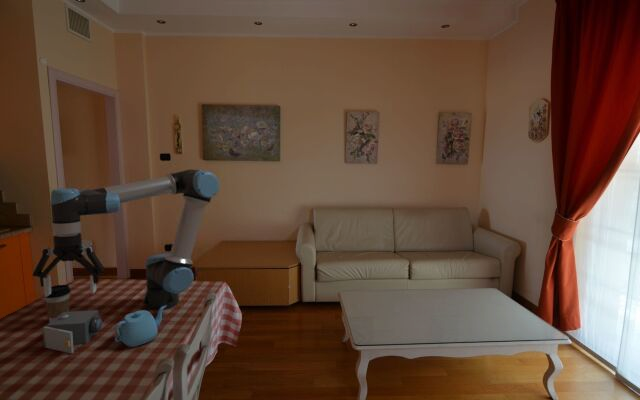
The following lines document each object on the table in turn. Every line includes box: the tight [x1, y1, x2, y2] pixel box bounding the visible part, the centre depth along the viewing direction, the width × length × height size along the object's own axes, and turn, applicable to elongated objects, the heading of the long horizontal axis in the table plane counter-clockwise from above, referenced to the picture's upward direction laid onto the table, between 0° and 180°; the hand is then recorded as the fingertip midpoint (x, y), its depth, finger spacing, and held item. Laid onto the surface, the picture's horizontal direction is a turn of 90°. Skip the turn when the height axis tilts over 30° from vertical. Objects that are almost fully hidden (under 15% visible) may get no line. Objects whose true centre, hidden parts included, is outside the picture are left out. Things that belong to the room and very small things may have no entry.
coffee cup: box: [44, 284, 72, 323], centre depth 129 cm, size 8×8×15 cm
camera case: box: [46, 309, 103, 346], centre depth 120 cm, size 14×10×9 cm
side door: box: [42, 325, 75, 354], centre depth 111 cm, size 12×2×8 cm, turn 76°
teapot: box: [114, 305, 167, 348], centre depth 121 cm, size 13×11×18 cm
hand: (71, 293), depth 112 cm, fingers open, 13 cm apart
